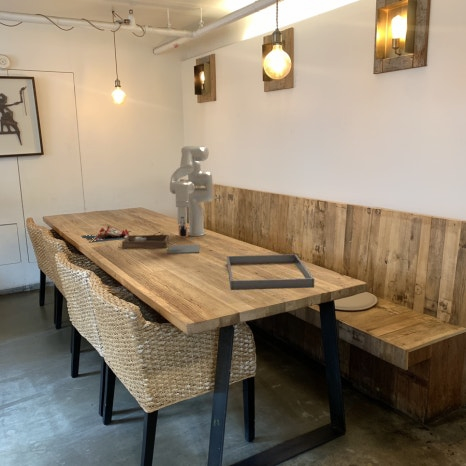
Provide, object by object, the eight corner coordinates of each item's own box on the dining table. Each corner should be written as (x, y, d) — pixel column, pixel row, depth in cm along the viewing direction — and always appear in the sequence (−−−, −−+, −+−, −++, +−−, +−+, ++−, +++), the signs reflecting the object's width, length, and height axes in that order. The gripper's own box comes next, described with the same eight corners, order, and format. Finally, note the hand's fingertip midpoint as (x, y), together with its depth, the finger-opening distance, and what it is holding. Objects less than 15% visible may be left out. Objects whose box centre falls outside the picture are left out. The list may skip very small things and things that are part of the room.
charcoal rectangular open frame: (227, 263, 240) (226, 256, 240) (296, 261, 242) (296, 254, 241) (230, 290, 198) (230, 281, 197) (314, 287, 200) (314, 278, 199)
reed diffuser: (131, 234, 286) (162, 227, 295) (132, 243, 290) (162, 236, 299) (137, 243, 279) (168, 236, 288) (137, 252, 283) (168, 245, 292)
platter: (132, 232, 331) (131, 219, 329) (140, 240, 307) (139, 226, 305) (81, 237, 318) (79, 224, 316) (85, 246, 294) (84, 232, 292)
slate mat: (170, 246, 280) (169, 245, 280) (199, 245, 281) (199, 244, 281) (167, 253, 263) (167, 252, 263) (199, 253, 264) (199, 251, 264)
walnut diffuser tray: (127, 241, 295) (127, 235, 295) (169, 240, 297) (168, 234, 296) (122, 248, 277) (122, 242, 276) (166, 247, 278) (165, 241, 277)
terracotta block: (179, 235, 273) (179, 225, 271) (188, 235, 273) (187, 225, 272) (178, 237, 268) (178, 226, 267) (187, 236, 268) (187, 226, 267)
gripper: (176, 202, 275) (178, 232, 278) (174, 206, 258) (175, 238, 262) (189, 202, 275) (190, 232, 279) (188, 206, 258) (189, 238, 262)
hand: (183, 234), depth 270 cm, fingers closed on terracotta block, 5 cm apart
